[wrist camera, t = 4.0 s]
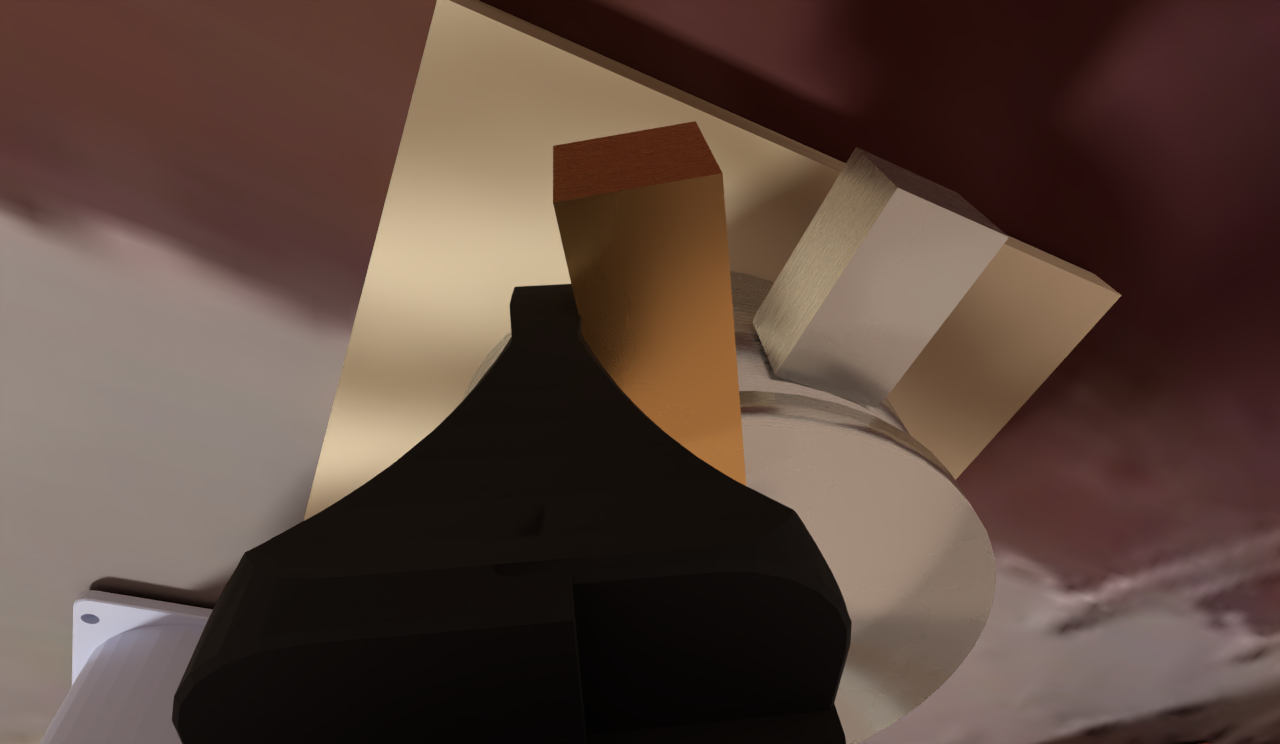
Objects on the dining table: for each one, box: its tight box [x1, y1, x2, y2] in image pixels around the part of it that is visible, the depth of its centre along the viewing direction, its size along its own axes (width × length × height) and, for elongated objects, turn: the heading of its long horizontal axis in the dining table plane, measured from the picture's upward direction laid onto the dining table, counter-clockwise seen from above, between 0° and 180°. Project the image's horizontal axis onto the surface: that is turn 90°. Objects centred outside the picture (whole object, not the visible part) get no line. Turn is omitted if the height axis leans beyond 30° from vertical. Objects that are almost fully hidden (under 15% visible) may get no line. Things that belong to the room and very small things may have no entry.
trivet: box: [303, 0, 1121, 521], centre depth 21 cm, size 18×18×1 cm
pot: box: [461, 147, 1009, 435], centre depth 18 cm, size 16×12×5 cm
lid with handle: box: [553, 121, 996, 744], centre depth 14 cm, size 17×13×2 cm
